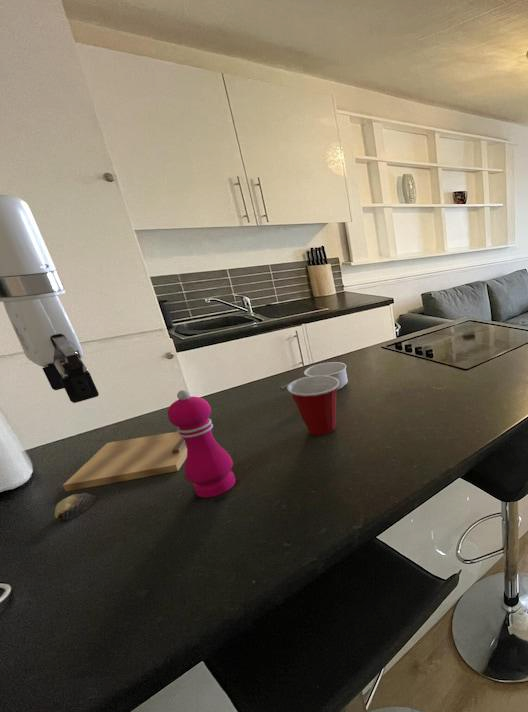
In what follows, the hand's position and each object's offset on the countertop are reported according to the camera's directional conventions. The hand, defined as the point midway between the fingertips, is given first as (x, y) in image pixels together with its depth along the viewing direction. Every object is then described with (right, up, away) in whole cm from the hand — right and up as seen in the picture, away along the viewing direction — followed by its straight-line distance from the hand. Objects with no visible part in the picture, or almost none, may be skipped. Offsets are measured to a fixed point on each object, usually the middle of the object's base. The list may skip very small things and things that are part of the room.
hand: (75, 392), depth 66 cm
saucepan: (+17, -2, +50) cm, 53 cm away
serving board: (-7, -15, +20) cm, 26 cm away
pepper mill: (+15, -18, +11) cm, 26 cm away
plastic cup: (+27, -10, +30) cm, 42 cm away
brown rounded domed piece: (-6, -21, +6) cm, 23 cm away
